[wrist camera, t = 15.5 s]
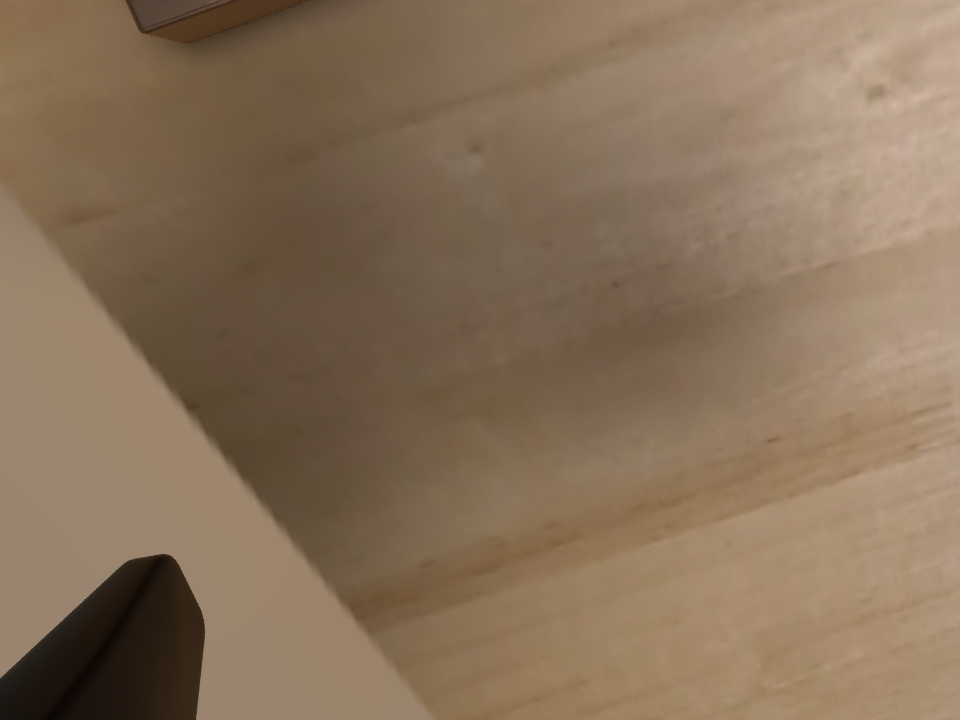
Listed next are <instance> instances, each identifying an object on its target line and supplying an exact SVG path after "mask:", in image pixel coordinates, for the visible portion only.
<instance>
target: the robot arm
mask: <svg viewBox="0 0 960 720" xmlns="http://www.w3.org/2000/svg"><path fill="white" fill-rule="evenodd" d="M204 639H205V625H204V619H203V615H202V612H201V609H200V607H199V605H198V603H197V601H196V599H195V597H194V595H193V593H192V591H191V589H190V587H189V585H188V583H187V581H186V579H185V577H184V575H183V573H182V570H181V568H180V566H179V565H178V563H177V562H176V560H175V559H174V558H173V557H172V556H170V555H166V554H161V555H154V556H148V557H143V558H137V559H133V560H129V561H127V562H126V563H124V564H123V565H122V566H121V567H120V568H119V569H117V570H116V571H115V572H114V573H113V574H112V575H111V576H110V577H109V578H108V579H107V580H106V581H104V582H103V583H102V584H101V585H100V586H99V587H98V588H97V589H96V590H95V591H94V592H93V593H92V594H91V595H89V597H87V598H86V599H85V600H84V601H83V602H82V603H81V604H80V605H79V606H78V607H77V608H76V609H74V610H73V611H72V612H71V613H70V614H69V615H68V616H67V617H66V618H65V619H64V620H63V621H62V622H60V624H58V625H57V626H56V627H55V628H54V629H53V630H52V631H51V632H50V633H49V634H47V635H46V636H45V637H44V638H43V639H42V640H41V641H40V642H39V643H38V644H37V645H36V646H35V647H34V648H33V649H31V650H30V651H29V652H28V653H27V654H26V655H25V656H24V657H23V658H22V659H21V660H20V661H18V662H17V663H16V664H15V665H14V666H13V667H12V668H11V669H10V670H9V671H8V672H7V673H6V674H5V675H3V677H1V678H0V720H196V715H197V705H198V696H199V686H200V677H201V667H202V658H203V648H204Z"/></svg>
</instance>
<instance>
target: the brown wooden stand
mask: <svg viewBox="0 0 960 720" xmlns="http://www.w3.org/2000/svg"><path fill="white" fill-rule="evenodd" d="M305 1H307V0H126V2H127V5H128V7H129V9H130V11H131V14H132V16H133V18H134V20H135V23H136V25H137V27H138V29H139V30H140V32H141V33H143V34H148V35H152V36H157V37H161V38H166V39H170V40H174V41H179V42H183V43H190V42H193V41H196V40H198V39H201V38H204V37H207V36H210V35H212V34H215V33H218V32H221V31H224V30H226V29H229V28H232V27H235V26H237V25H240V24H243V23H246V22H249V21H251V20H254V19H257V18H260V17H263V16H265V15H268V14H271V13H274V12H277V11H279V10H282V9H285V8H288V7H291V6H293V5H296V4H299V3H302V2H305Z"/></svg>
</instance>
